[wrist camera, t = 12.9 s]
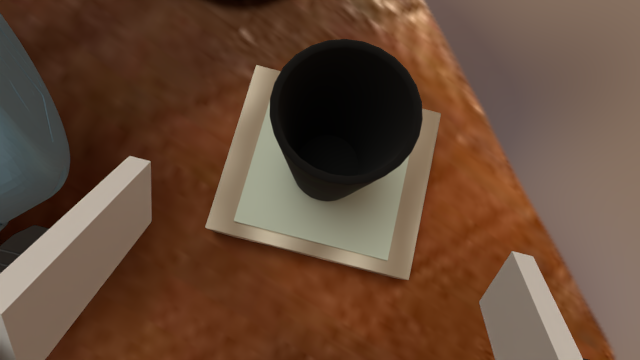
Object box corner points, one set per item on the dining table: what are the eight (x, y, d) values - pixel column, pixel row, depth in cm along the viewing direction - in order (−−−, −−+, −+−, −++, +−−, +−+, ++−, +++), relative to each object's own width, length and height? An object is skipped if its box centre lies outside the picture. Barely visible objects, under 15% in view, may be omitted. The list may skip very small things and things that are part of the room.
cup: (307, 104, 33) (314, 13, 21) (390, 147, 32) (446, 80, 20) (260, 186, 31) (240, 137, 19) (348, 232, 31) (382, 212, 19)
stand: (213, 231, 34) (203, 227, 30) (259, 83, 37) (255, 62, 33) (397, 278, 34) (410, 280, 30) (427, 127, 37) (443, 111, 33)
